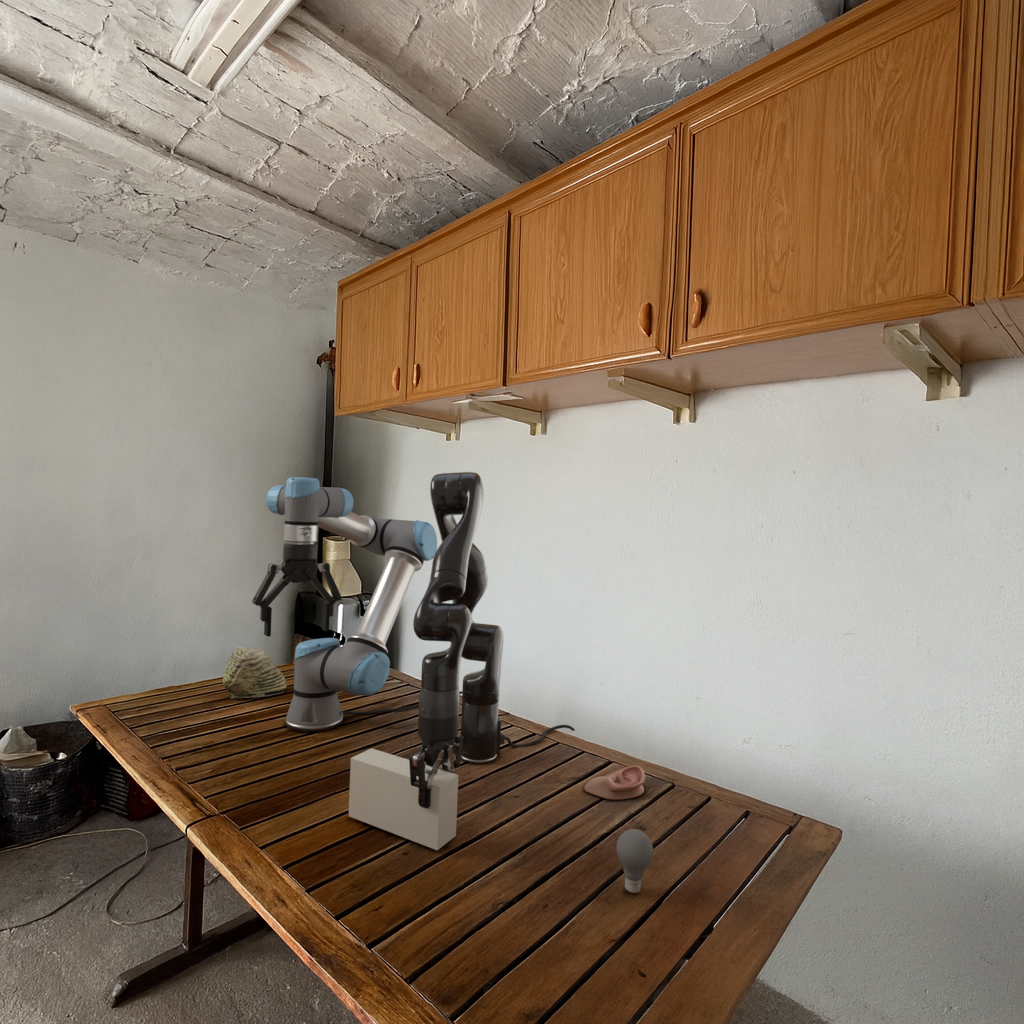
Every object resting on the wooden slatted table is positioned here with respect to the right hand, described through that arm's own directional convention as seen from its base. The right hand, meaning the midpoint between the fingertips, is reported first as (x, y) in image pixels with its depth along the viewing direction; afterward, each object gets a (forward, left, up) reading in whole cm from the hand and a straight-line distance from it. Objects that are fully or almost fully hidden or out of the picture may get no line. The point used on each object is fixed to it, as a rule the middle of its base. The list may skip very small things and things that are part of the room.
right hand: (435, 799), depth 118 cm
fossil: (0, -104, -8) cm, 104 cm away
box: (+3, -7, -7) cm, 11 cm away
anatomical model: (-45, +5, -8) cm, 46 cm away
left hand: (+9, -48, +23) cm, 54 cm away
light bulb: (-19, +32, -8) cm, 38 cm away
